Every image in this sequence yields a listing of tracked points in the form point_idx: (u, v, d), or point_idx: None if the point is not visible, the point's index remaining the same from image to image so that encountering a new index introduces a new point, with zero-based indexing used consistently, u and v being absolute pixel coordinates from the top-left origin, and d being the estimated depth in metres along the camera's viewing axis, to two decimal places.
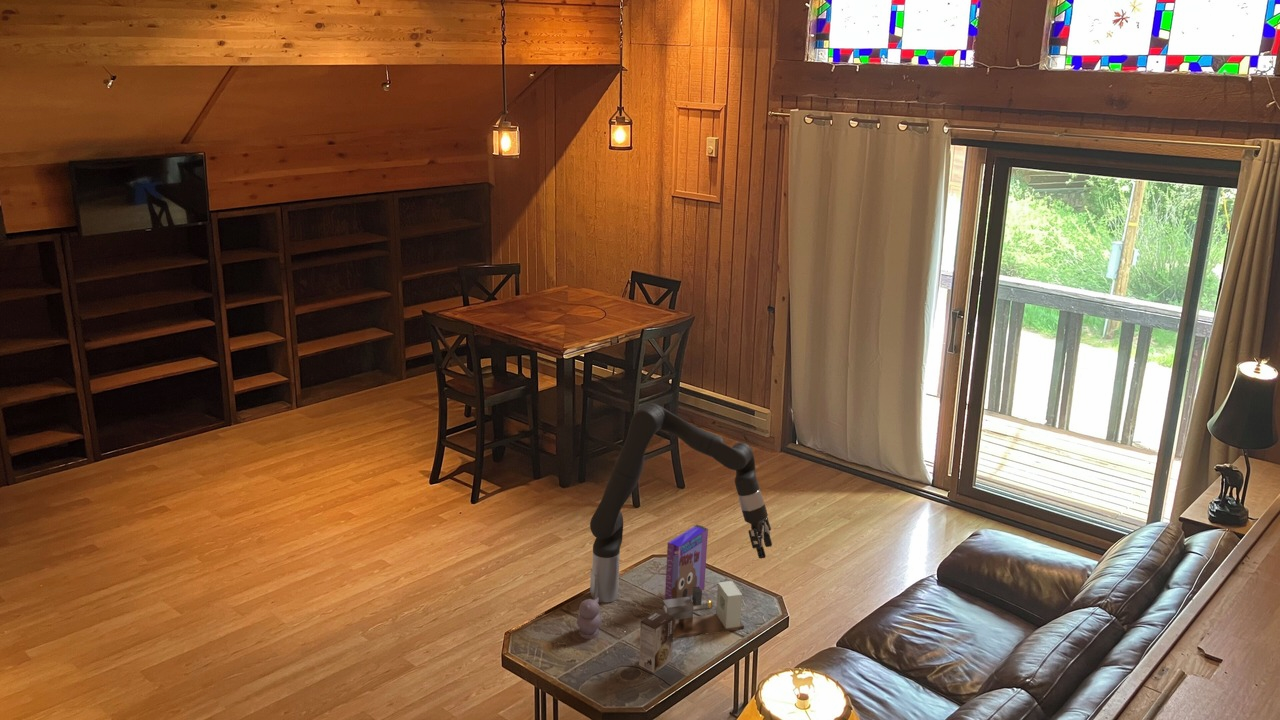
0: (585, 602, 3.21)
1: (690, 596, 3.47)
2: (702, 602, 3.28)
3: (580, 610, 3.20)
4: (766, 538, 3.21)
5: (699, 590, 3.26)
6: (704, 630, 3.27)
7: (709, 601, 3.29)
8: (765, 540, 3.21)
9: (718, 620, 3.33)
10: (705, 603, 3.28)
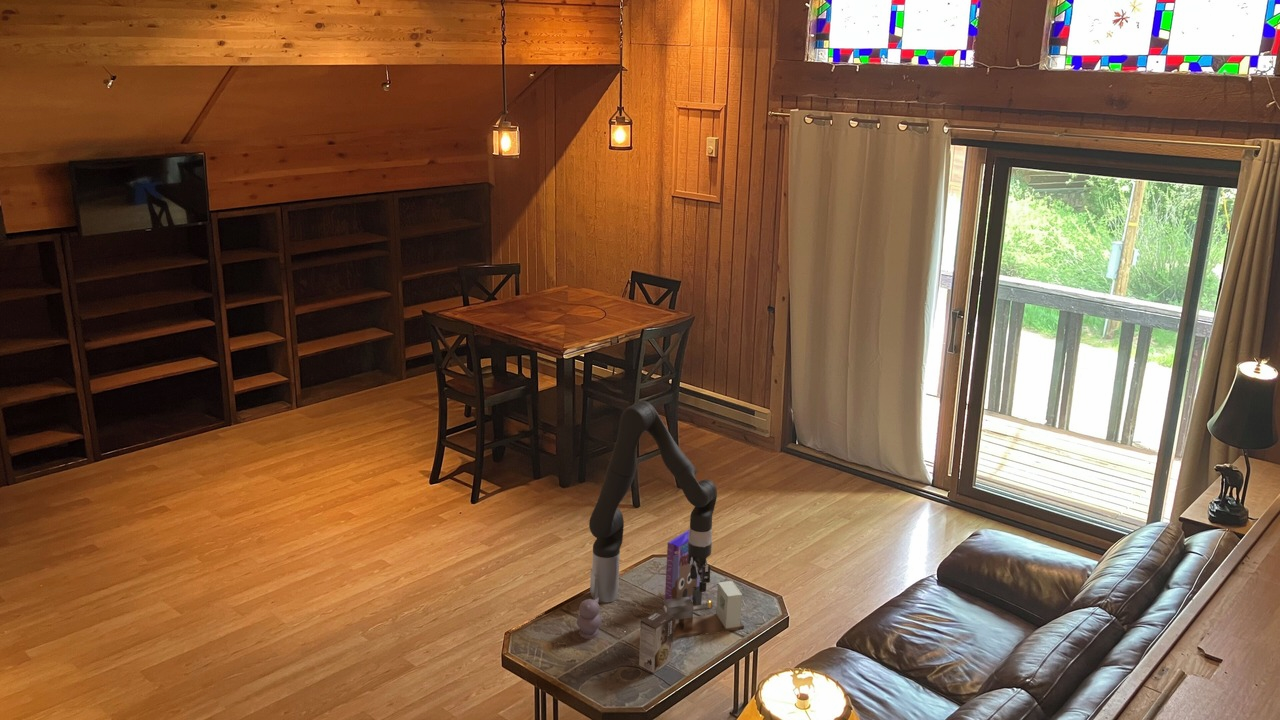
0: (585, 602, 3.21)
1: (690, 596, 3.47)
2: (702, 602, 3.28)
3: (580, 610, 3.20)
4: (694, 571, 3.29)
5: None
6: (704, 630, 3.27)
7: (709, 601, 3.29)
8: (692, 573, 3.29)
9: (718, 620, 3.33)
10: (705, 603, 3.28)
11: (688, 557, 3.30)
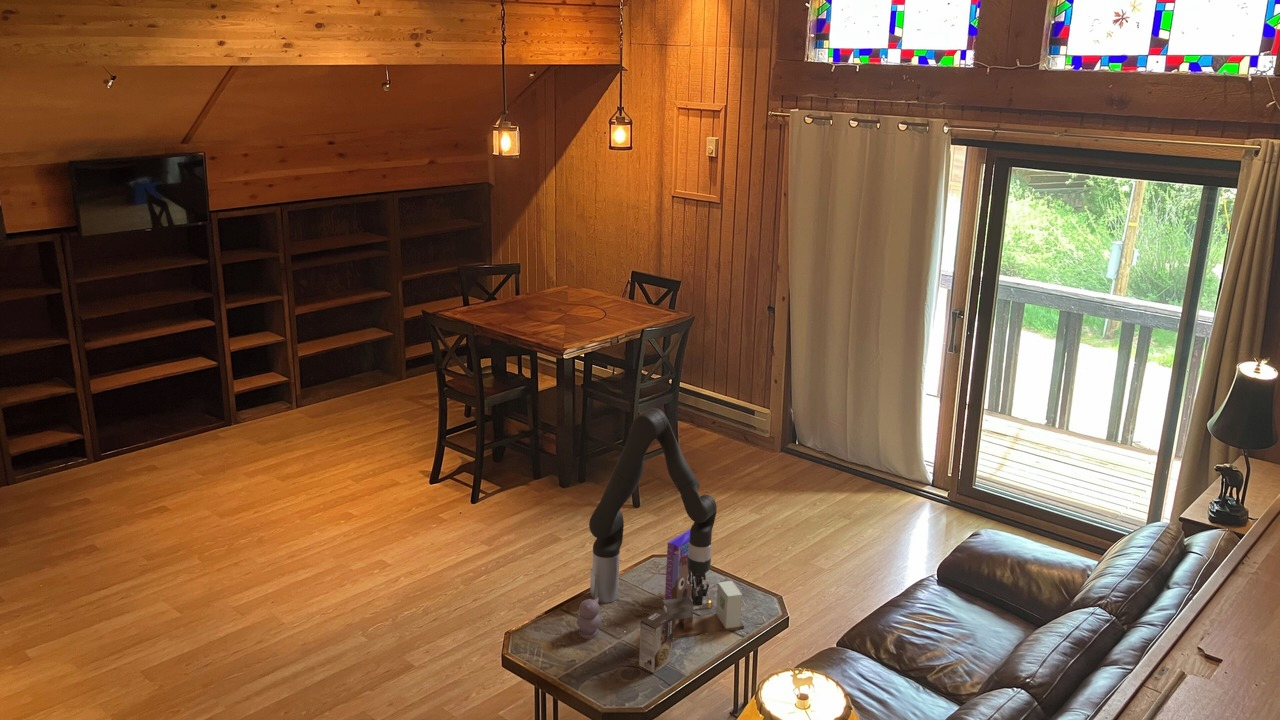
0: (585, 602, 3.21)
1: (690, 596, 3.47)
2: (702, 602, 3.28)
3: (580, 610, 3.20)
4: None
5: None
6: (704, 630, 3.27)
7: (709, 601, 3.29)
8: None
9: (718, 620, 3.33)
10: (705, 603, 3.28)
11: (689, 577, 3.30)
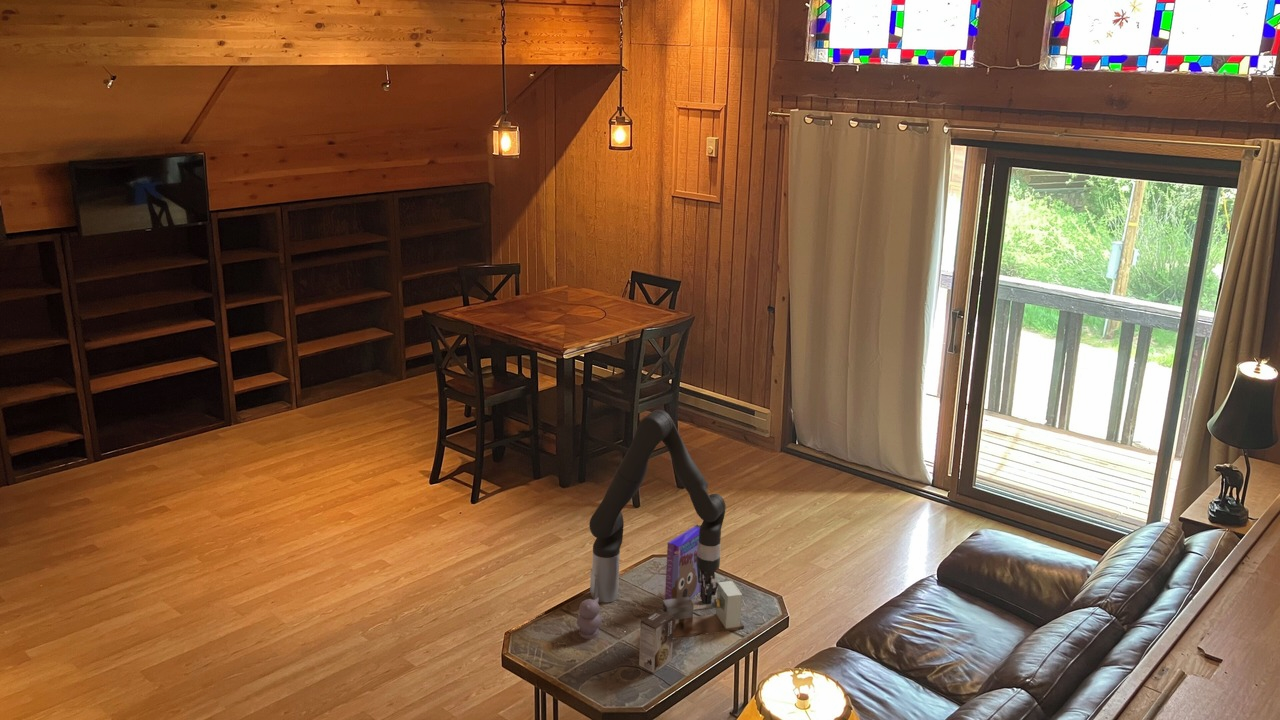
0: (585, 602, 3.21)
1: (690, 596, 3.47)
2: (711, 601, 3.29)
3: (580, 610, 3.20)
4: None
5: None
6: (704, 630, 3.27)
7: (718, 600, 3.30)
8: None
9: (718, 620, 3.33)
10: (714, 602, 3.29)
11: (698, 576, 3.31)
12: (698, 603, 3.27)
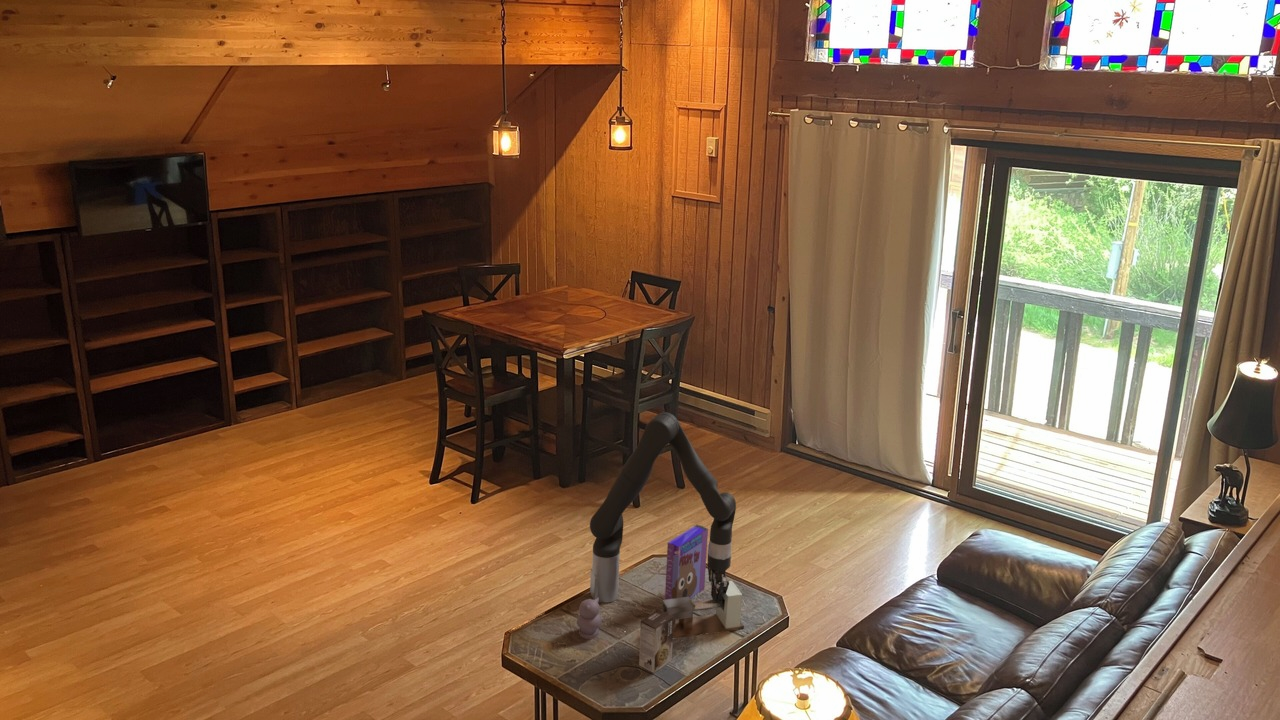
0: (585, 602, 3.21)
1: (690, 596, 3.47)
2: (722, 599, 3.30)
3: (580, 610, 3.20)
4: None
5: None
6: (704, 630, 3.27)
7: None
8: None
9: (718, 620, 3.33)
10: None
11: None
12: (709, 602, 3.29)
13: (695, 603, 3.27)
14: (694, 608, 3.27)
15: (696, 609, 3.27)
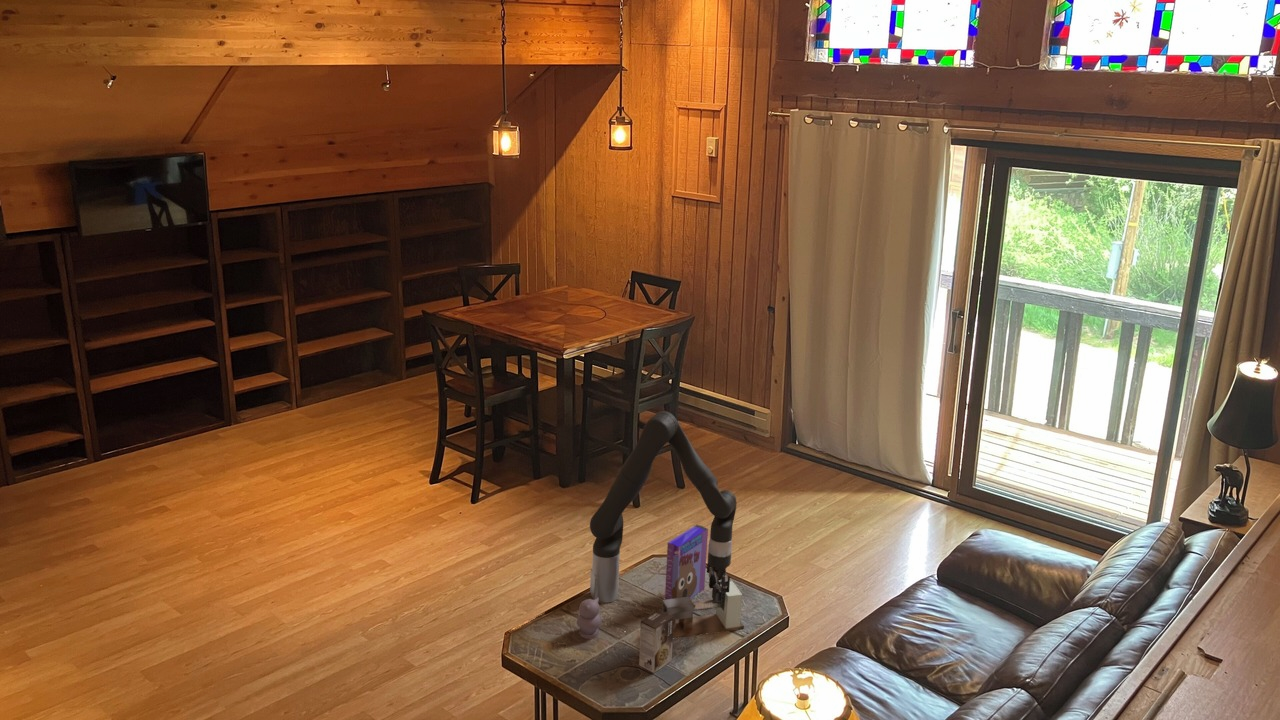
0: (585, 602, 3.21)
1: (690, 596, 3.47)
2: None
3: (580, 610, 3.20)
4: (713, 580, 3.32)
5: None
6: (704, 630, 3.27)
7: None
8: (711, 582, 3.32)
9: (718, 620, 3.33)
10: None
11: (707, 566, 3.33)
12: (709, 602, 3.29)
13: (695, 603, 3.27)
14: (694, 608, 3.27)
15: (696, 609, 3.27)
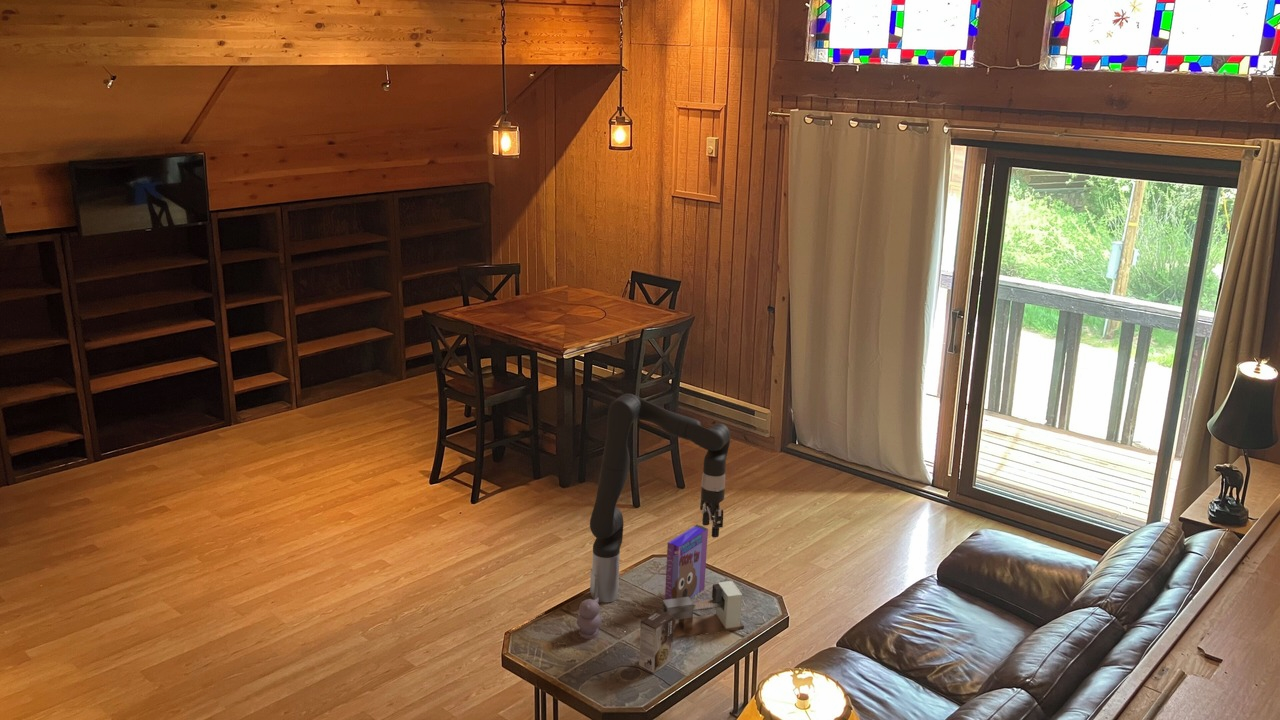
0: (585, 602, 3.21)
1: (690, 596, 3.47)
2: (722, 599, 3.30)
3: (580, 610, 3.20)
4: (706, 517, 3.26)
5: (719, 587, 3.28)
6: (704, 630, 3.27)
7: None
8: (704, 519, 3.26)
9: (718, 620, 3.33)
10: None
11: (700, 503, 3.27)
12: (709, 602, 3.29)
13: (695, 603, 3.27)
14: (694, 608, 3.27)
15: (696, 609, 3.27)
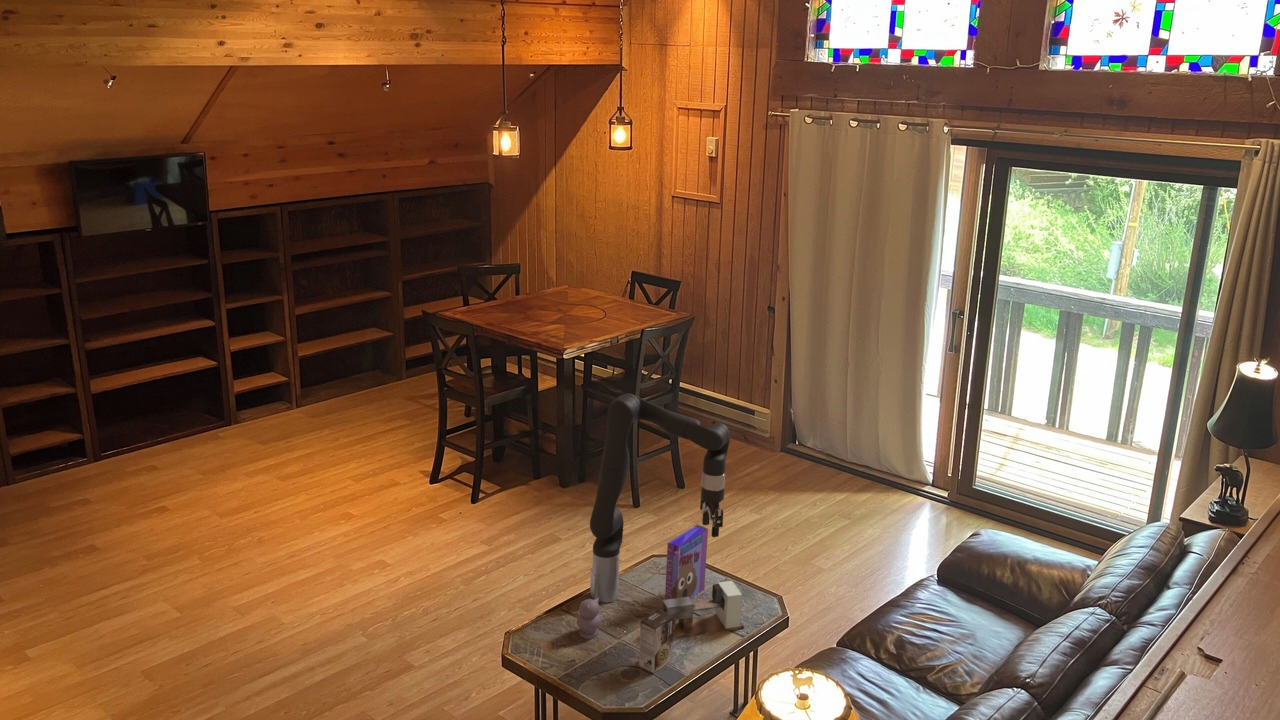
0: (585, 602, 3.21)
1: (690, 596, 3.47)
2: (722, 599, 3.30)
3: (580, 610, 3.20)
4: (706, 517, 3.26)
5: (719, 587, 3.28)
6: (704, 630, 3.27)
7: None
8: (704, 518, 3.26)
9: (718, 620, 3.33)
10: None
11: (700, 503, 3.27)
12: (709, 602, 3.29)
13: (695, 603, 3.27)
14: (694, 608, 3.27)
15: (696, 609, 3.27)
